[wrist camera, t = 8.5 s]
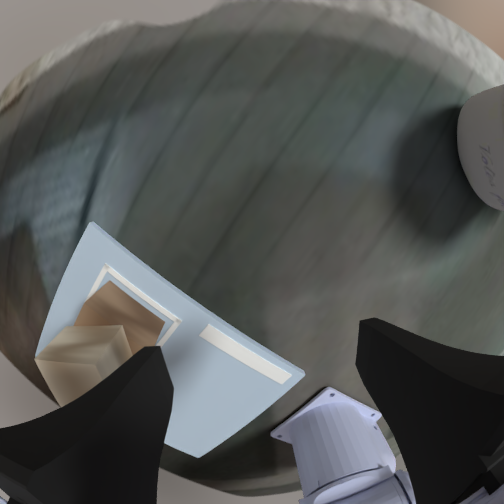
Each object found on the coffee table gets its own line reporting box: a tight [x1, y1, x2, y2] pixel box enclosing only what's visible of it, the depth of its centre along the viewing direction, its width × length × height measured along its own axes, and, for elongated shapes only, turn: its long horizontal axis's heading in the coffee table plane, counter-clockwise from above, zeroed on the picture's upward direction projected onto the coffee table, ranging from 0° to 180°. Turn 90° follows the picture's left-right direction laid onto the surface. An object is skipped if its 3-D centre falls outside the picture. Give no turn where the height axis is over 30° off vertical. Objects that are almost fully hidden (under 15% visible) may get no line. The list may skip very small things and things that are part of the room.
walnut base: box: [73, 280, 165, 355], centre depth 17 cm, size 5×5×4 cm
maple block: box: [35, 325, 133, 407], centre depth 13 cm, size 4×4×4 cm
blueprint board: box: [35, 222, 305, 458], centre depth 20 cm, size 20×16×1 cm
